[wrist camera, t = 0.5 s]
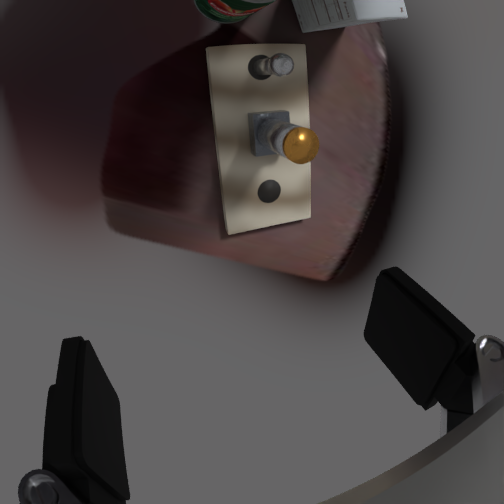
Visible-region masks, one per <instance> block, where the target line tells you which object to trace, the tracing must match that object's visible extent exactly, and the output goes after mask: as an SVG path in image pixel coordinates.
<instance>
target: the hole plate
mask: <svg viewBox="0 0 504 504" xmlns="http://www.w3.org/2000/svg"><path fill="white" fill-rule="evenodd" d="M277 53H284V54H287V55H289V56H290V57H291V58H292V60H293V62H294V69H293V71H292V72H291V73H290V74H289V75H287V76H285V77H278V76H275V75H258V74H256V73H255V72H254V70H253V64H254V63H255V62H256V61H257V60H260V59H265V58H270V57H272V56H273V55H274V54H277ZM206 57H207V67H208V77H209V87H210V97H211V107H212V117H213V126H214V135H215V144H216V153H217V162H218V171H219V179H220V188H221V196H222V204H223V213H224V221H225V229H226V232H227V233H228V235H231V234H235V233H240V232H245V231H249V230H254V229H259V228H263V227H268V226H273V225H277V224H282V223H287V222H292V221H297V220H301V219H306V218H311V171H310V162H308V163H305V164H296V163H294V162H292V161H290V160H288V159H286V158H285V157H283V156H281V155H279V154H273V155H265V156H258V157H256V156H254V155H253V154H251V149H250V137H249V124H248V113H253V112H264V111H275V110H285V111H289V115H290V123H292V124H295V125H299V126H302V127H305V128H308V129H310V125H309V98H308V78H307V60H306V45H305V44H243V45H226V46H214V47H207V48H206Z"/></svg>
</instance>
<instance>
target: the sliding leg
mask: <svg viewBox="0 0 504 504" xmlns="http://www.w3.org/2000/svg"><path fill="white" fill-rule="evenodd" d="M248 124H249V137H250V149H251V154H253V155H254V156H256V157H258V156H265V155H273V154H279V155H281V156H283V157H285V158H286V159H288V160H290V161H292V162H294V163H296V164H305V163H308V162H310V161H311V160H312V159H313V158H314V157H315V156H316V154H317V152H318V149H319V140H318V137H317V135H316V134H315V133H314V132H313V131H312V130H311V129H308V128H305V127H302V126H299V125H295V124H292V123H290V115H289V111H285V110H275V111H264V112H253V113H248Z"/></svg>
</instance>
